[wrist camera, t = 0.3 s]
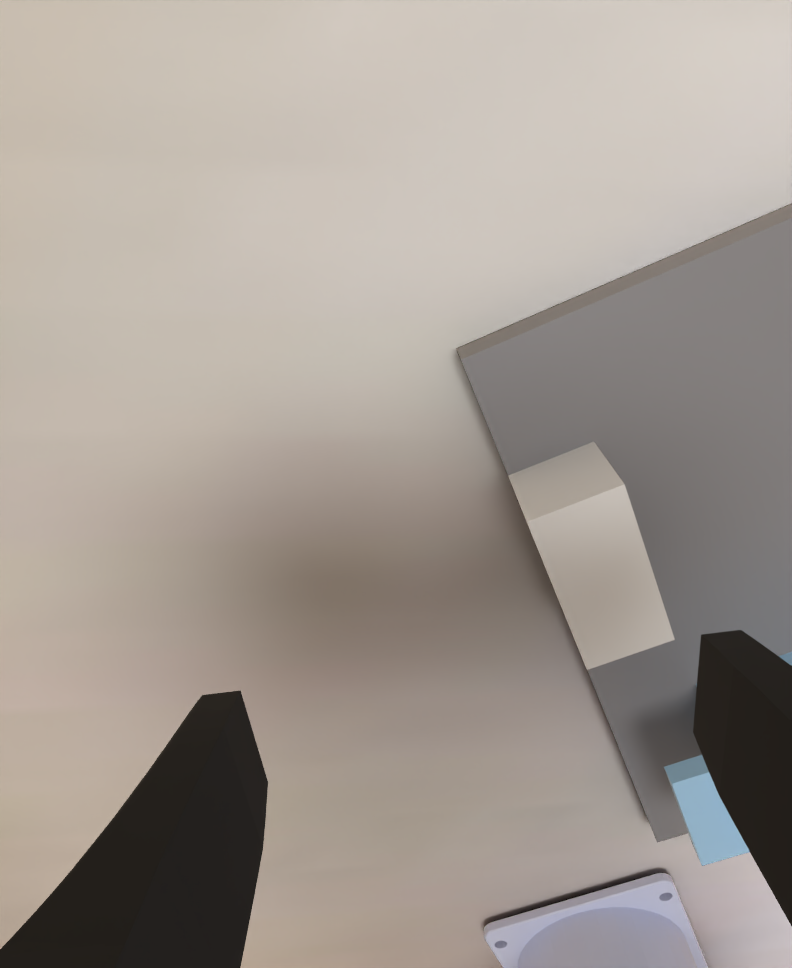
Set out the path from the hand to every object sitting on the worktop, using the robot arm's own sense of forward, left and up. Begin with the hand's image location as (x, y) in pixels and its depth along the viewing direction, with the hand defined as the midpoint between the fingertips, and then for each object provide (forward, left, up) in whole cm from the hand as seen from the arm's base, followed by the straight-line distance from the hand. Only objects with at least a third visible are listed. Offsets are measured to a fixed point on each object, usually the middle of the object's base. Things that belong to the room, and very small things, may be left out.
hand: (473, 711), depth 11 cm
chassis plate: (-7, -8, -10) cm, 14 cm away
